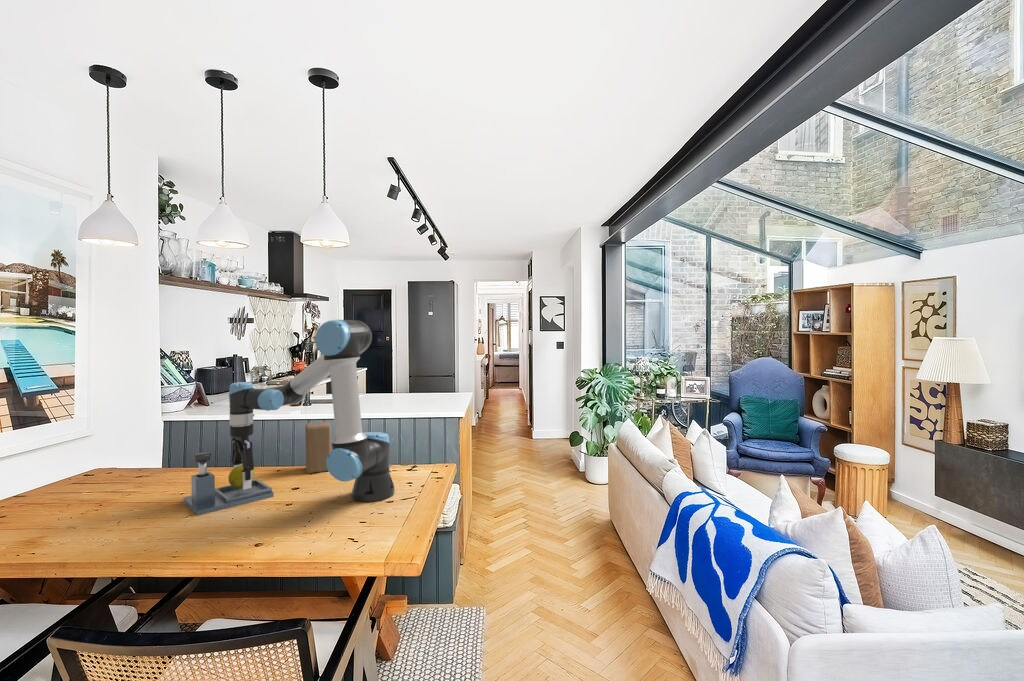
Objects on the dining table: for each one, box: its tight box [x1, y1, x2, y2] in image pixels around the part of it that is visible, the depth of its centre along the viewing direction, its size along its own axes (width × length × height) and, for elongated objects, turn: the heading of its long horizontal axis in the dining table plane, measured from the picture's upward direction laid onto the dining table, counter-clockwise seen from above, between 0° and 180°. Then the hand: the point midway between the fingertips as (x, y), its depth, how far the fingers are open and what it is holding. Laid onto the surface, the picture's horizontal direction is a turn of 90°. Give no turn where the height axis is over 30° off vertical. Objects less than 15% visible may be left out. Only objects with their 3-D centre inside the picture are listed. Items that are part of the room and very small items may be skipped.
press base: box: [182, 471, 275, 516], centre depth 171 cm, size 18×24×10 cm
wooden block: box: [304, 421, 332, 474], centre depth 206 cm, size 10×10×20 cm
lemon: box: [228, 464, 255, 488], centre depth 174 cm, size 11×8×8 cm
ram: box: [193, 451, 212, 477], centre depth 165 cm, size 5×5×10 cm
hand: (242, 485), depth 174 cm, fingers closed on lemon, 9 cm apart
